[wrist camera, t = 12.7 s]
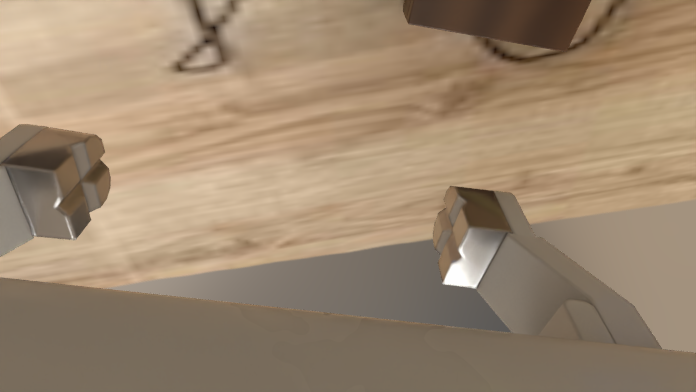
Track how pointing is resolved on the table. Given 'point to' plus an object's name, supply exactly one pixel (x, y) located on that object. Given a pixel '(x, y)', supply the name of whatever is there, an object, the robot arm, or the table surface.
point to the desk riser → (503, 19)
